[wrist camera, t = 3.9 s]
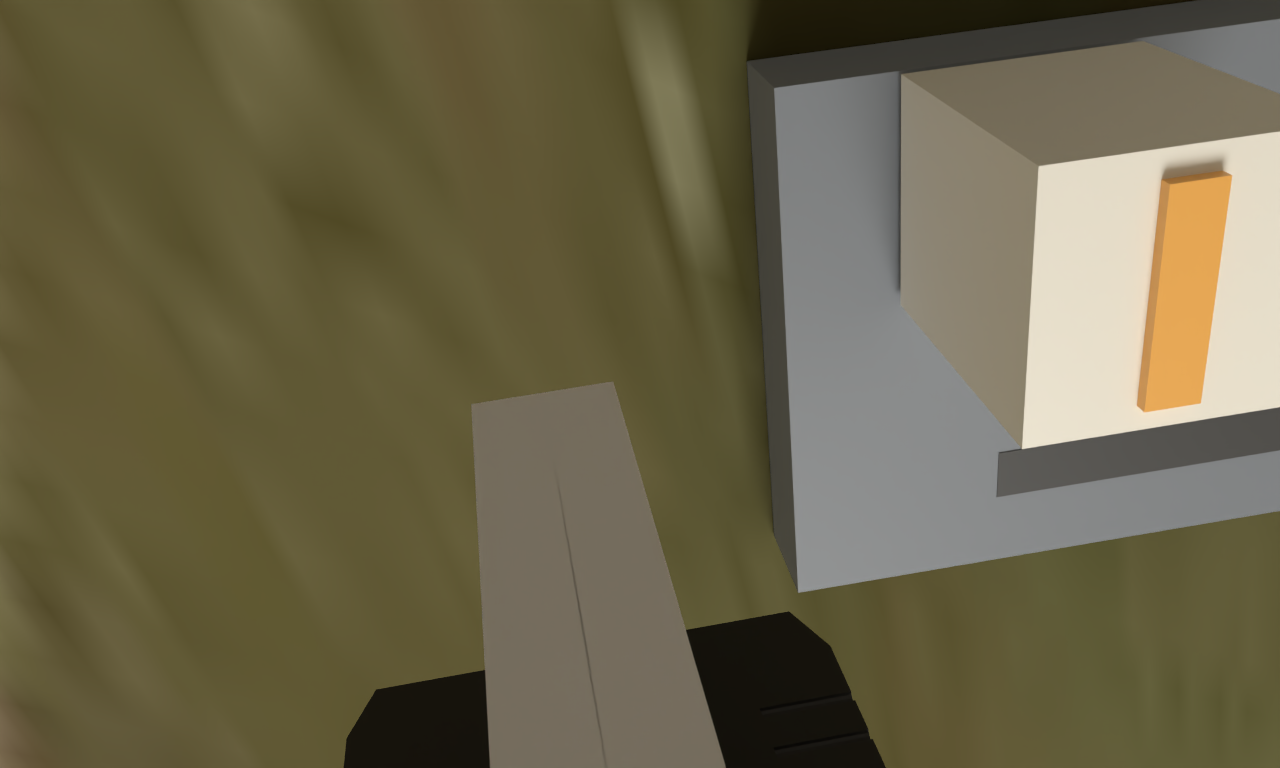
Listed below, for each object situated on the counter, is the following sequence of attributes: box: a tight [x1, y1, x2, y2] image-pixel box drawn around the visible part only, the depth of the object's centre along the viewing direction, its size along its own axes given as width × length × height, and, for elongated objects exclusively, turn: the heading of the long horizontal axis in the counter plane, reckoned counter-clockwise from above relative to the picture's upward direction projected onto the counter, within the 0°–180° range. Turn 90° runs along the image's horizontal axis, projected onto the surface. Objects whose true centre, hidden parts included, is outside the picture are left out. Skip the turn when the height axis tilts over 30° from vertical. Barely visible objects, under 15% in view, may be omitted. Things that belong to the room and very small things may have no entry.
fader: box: [901, 41, 1280, 449], centre depth 18 cm, size 4×4×5 cm
